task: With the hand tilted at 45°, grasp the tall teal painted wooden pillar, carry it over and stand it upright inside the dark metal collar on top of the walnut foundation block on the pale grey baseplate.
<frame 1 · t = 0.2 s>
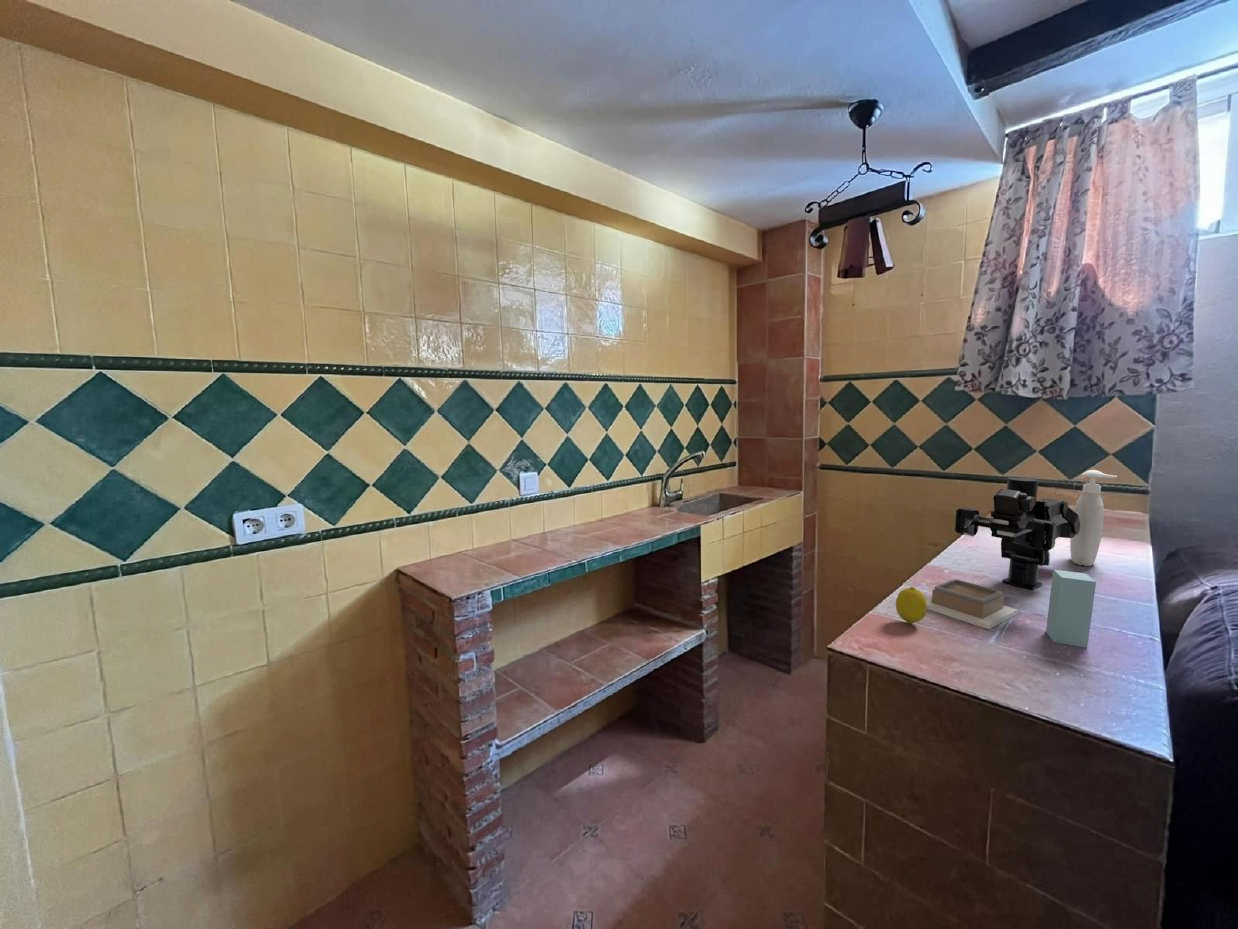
hand: (987, 534, 111), 17 cm above the table, tool horizontal, fingers open, 9 cm apart
build base: (966, 609, 112), on the table
soap bottle: (1085, 563, 145), on the table
pillar: (1065, 639, 98), on the table
lemon: (909, 624, 105), on the table
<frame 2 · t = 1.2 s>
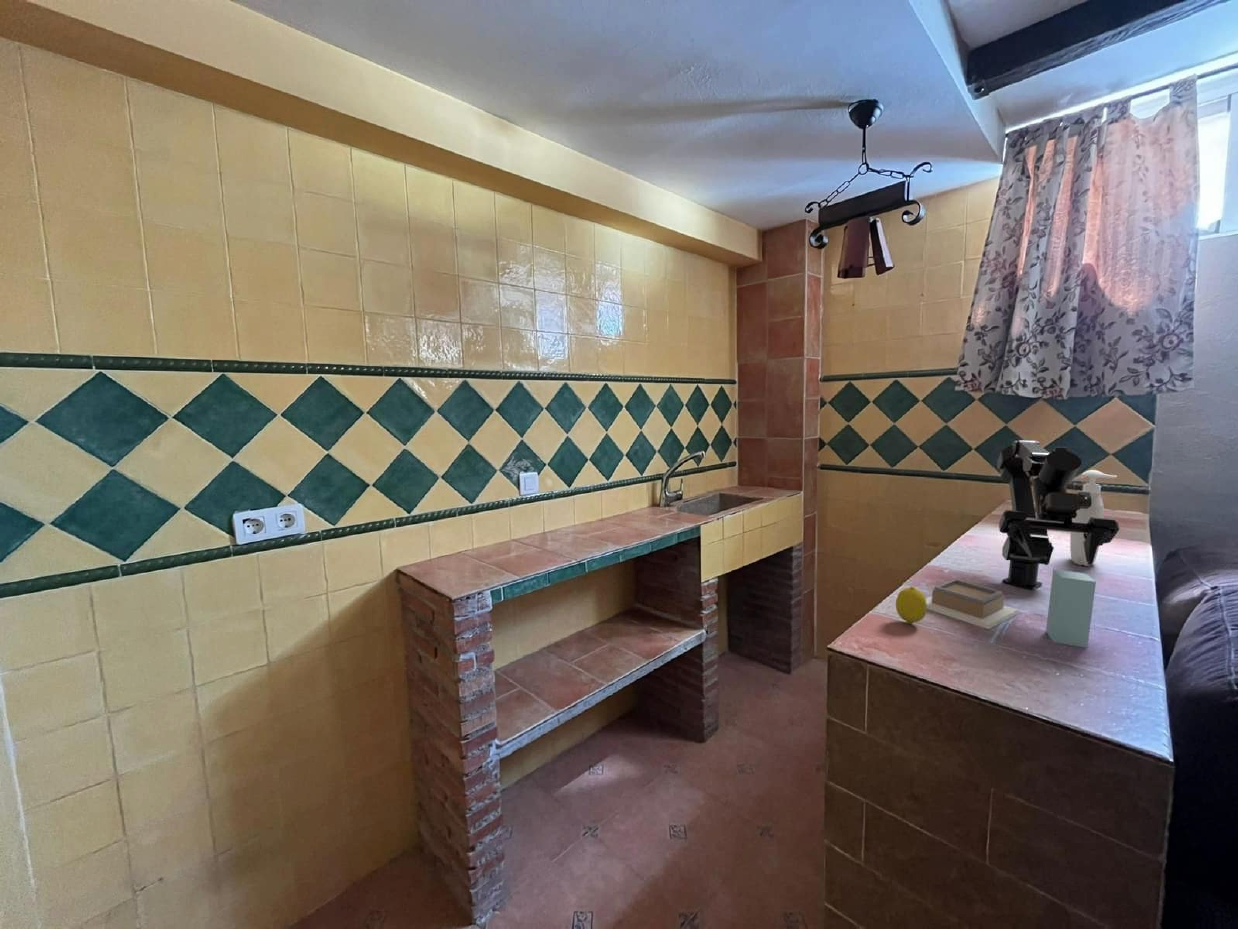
hand: (1061, 560, 103), 14 cm above the table, tool tilted 45°, fingers open, 9 cm apart
nothing on the table moved.
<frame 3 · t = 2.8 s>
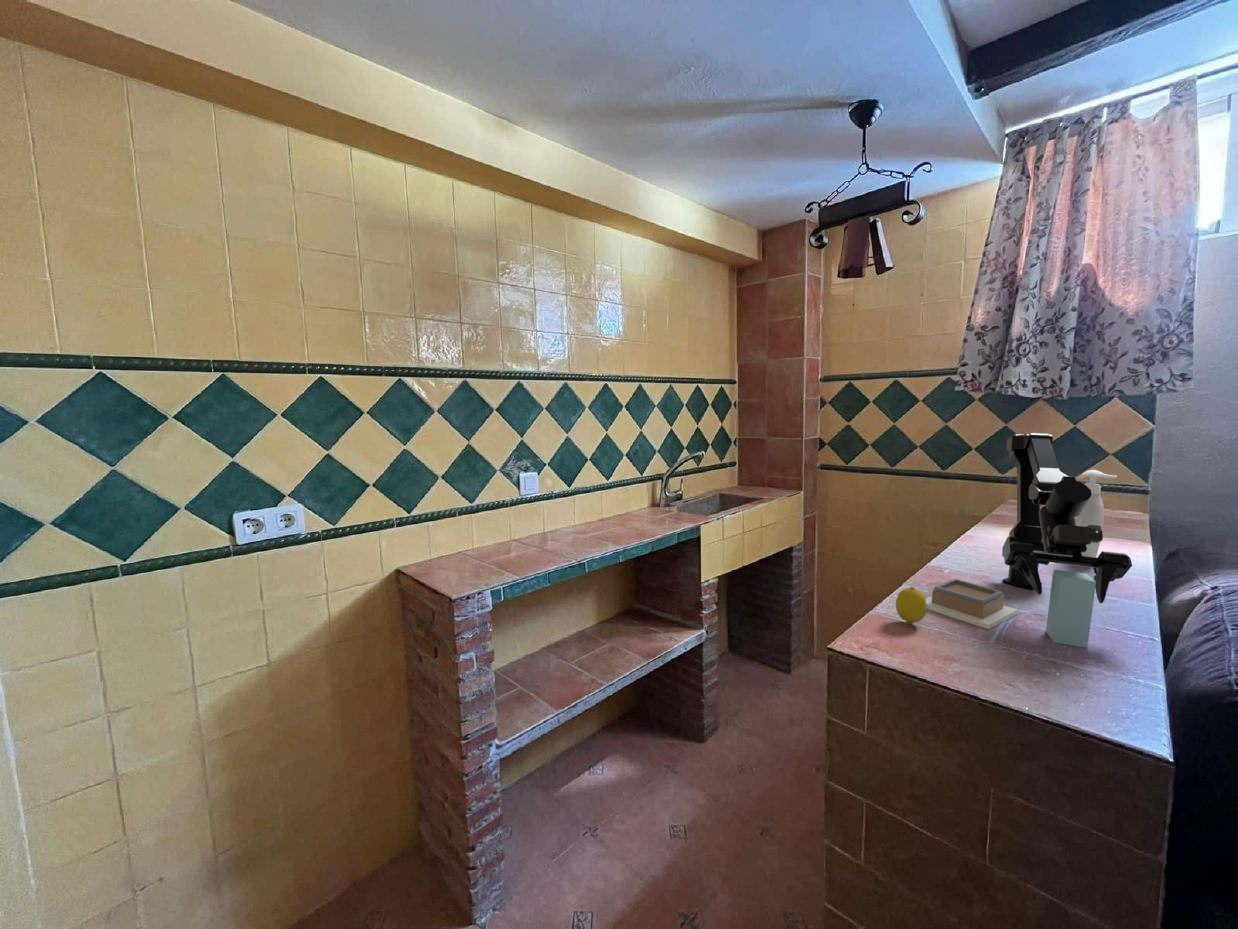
hand: (1070, 598, 97), 8 cm above the table, tool tilted 45°, fingers open, 9 cm apart
nothing on the table moved.
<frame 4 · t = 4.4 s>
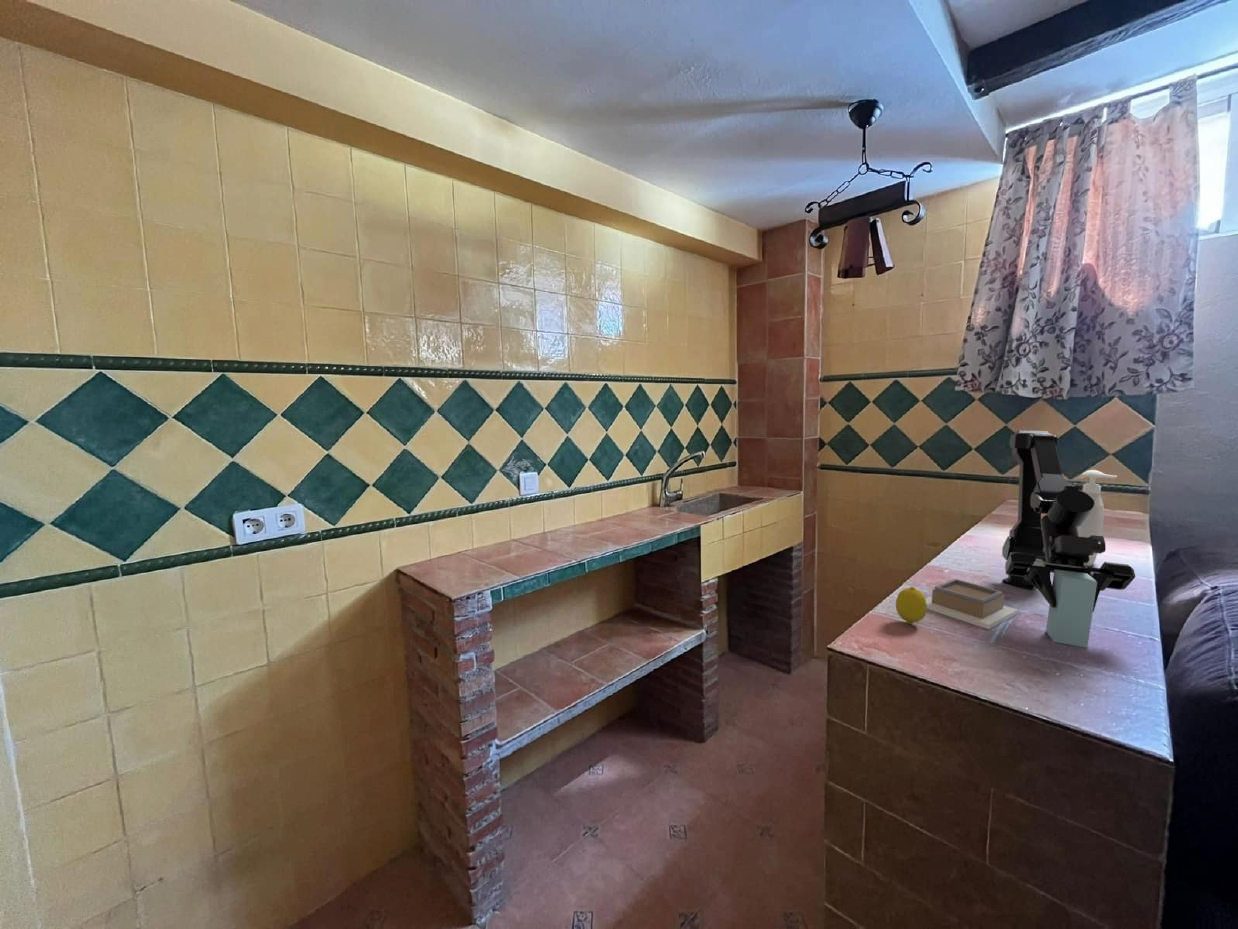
hand: (1072, 609, 96), 7 cm above the table, tool tilted 45°, fingers closed on pillar, 5 cm apart
pillar: (1065, 639, 98), on the table, touching gripper
everything else where it was.
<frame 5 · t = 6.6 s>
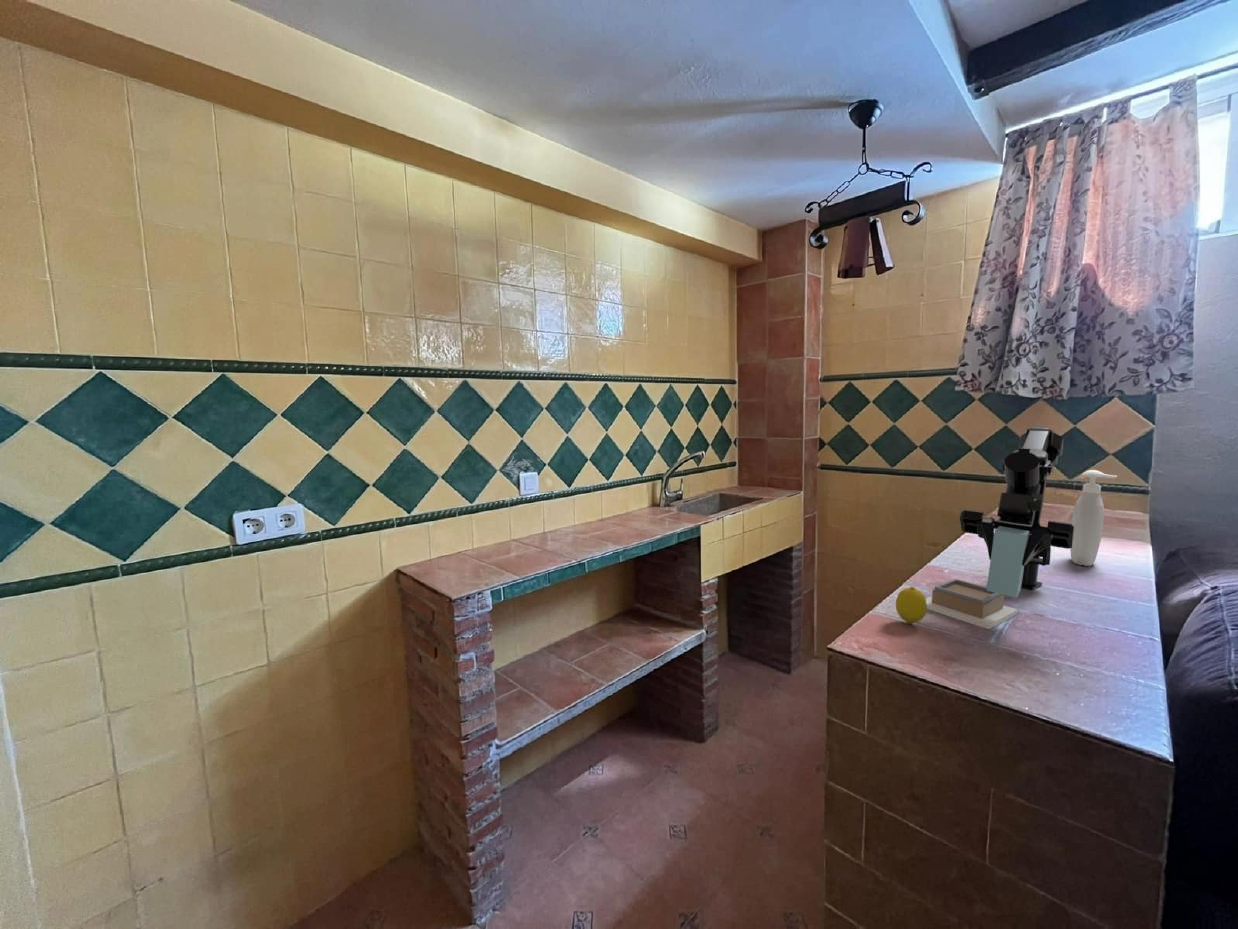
hand: (1006, 561, 103), 13 cm above the table, tool tilted 45°, fingers closed on pillar, 5 cm apart
pillar: (1003, 590, 105), point 7 cm above the table, touching gripper
everything else where it was.
when the fingers open (12 cm above the table, at t = 9.1 s): pillar drops 1 cm, resting on build base.
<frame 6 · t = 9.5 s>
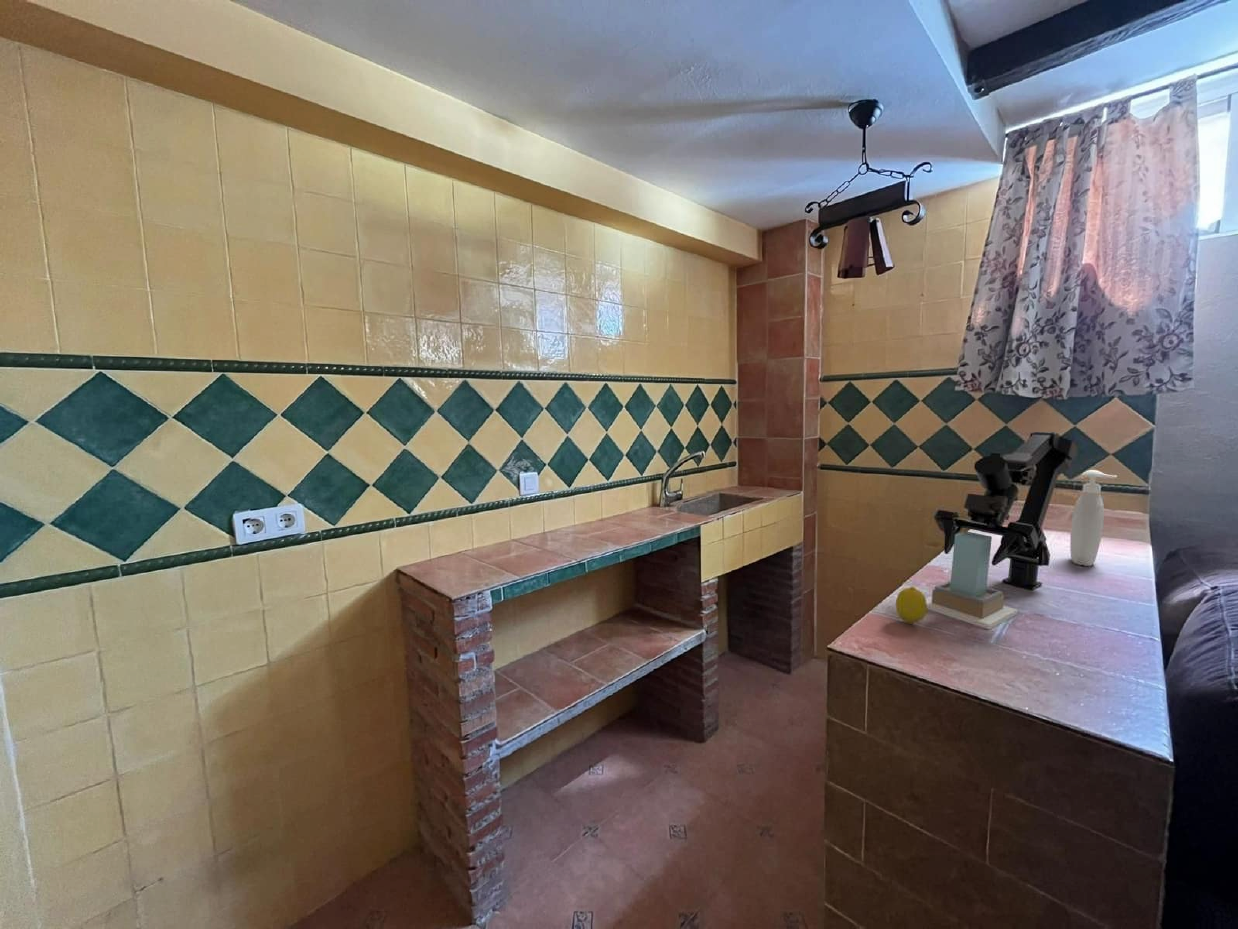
hand: (968, 558, 109), 12 cm above the table, tool tilted 45°, fingers open, 9 cm apart
pillar: (967, 592, 111), point 4 cm above the table, touching build base
everything else where it was.
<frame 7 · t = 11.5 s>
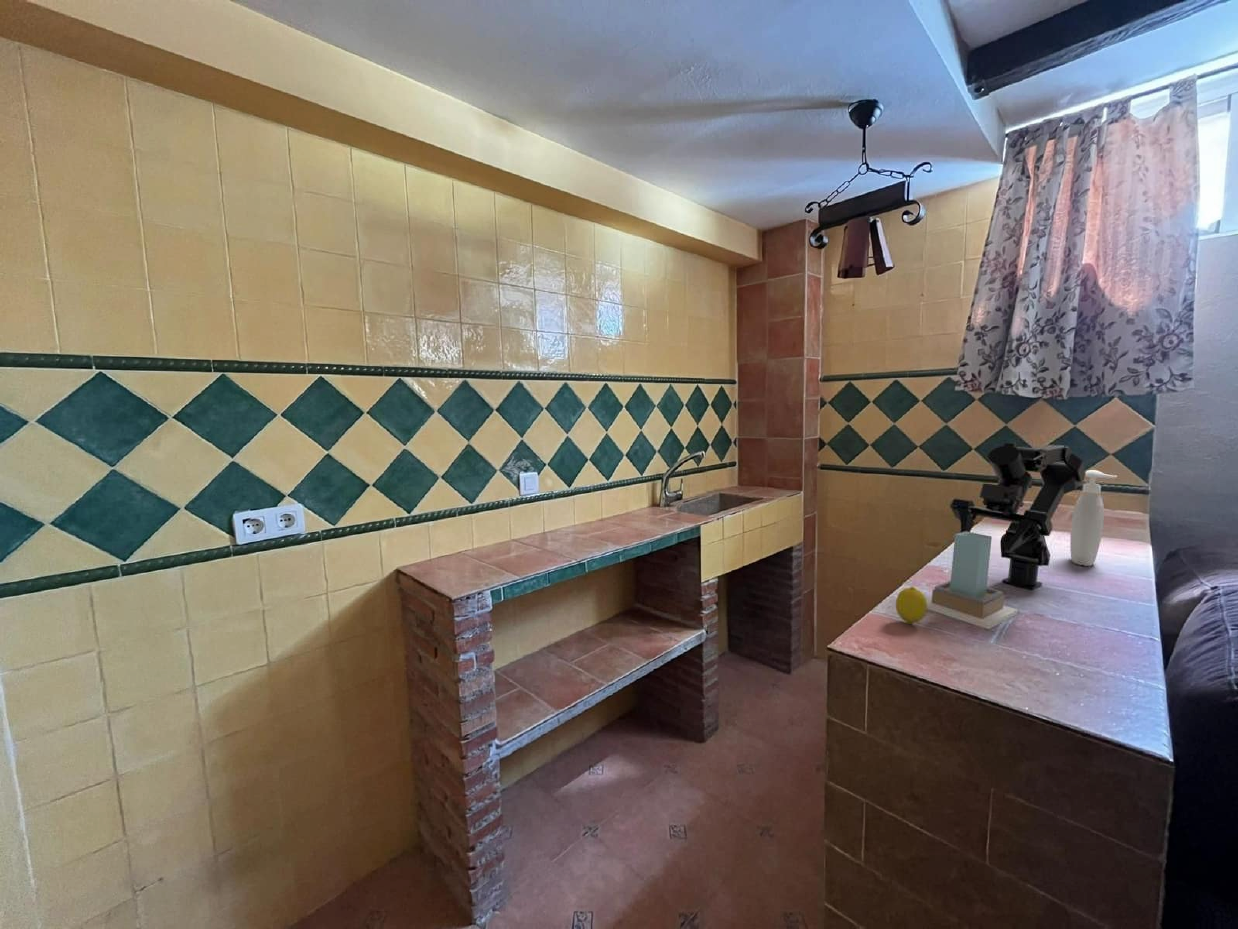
hand: (984, 545, 114), 14 cm above the table, tool tilted 40°, fingers open, 9 cm apart
nothing on the table moved.
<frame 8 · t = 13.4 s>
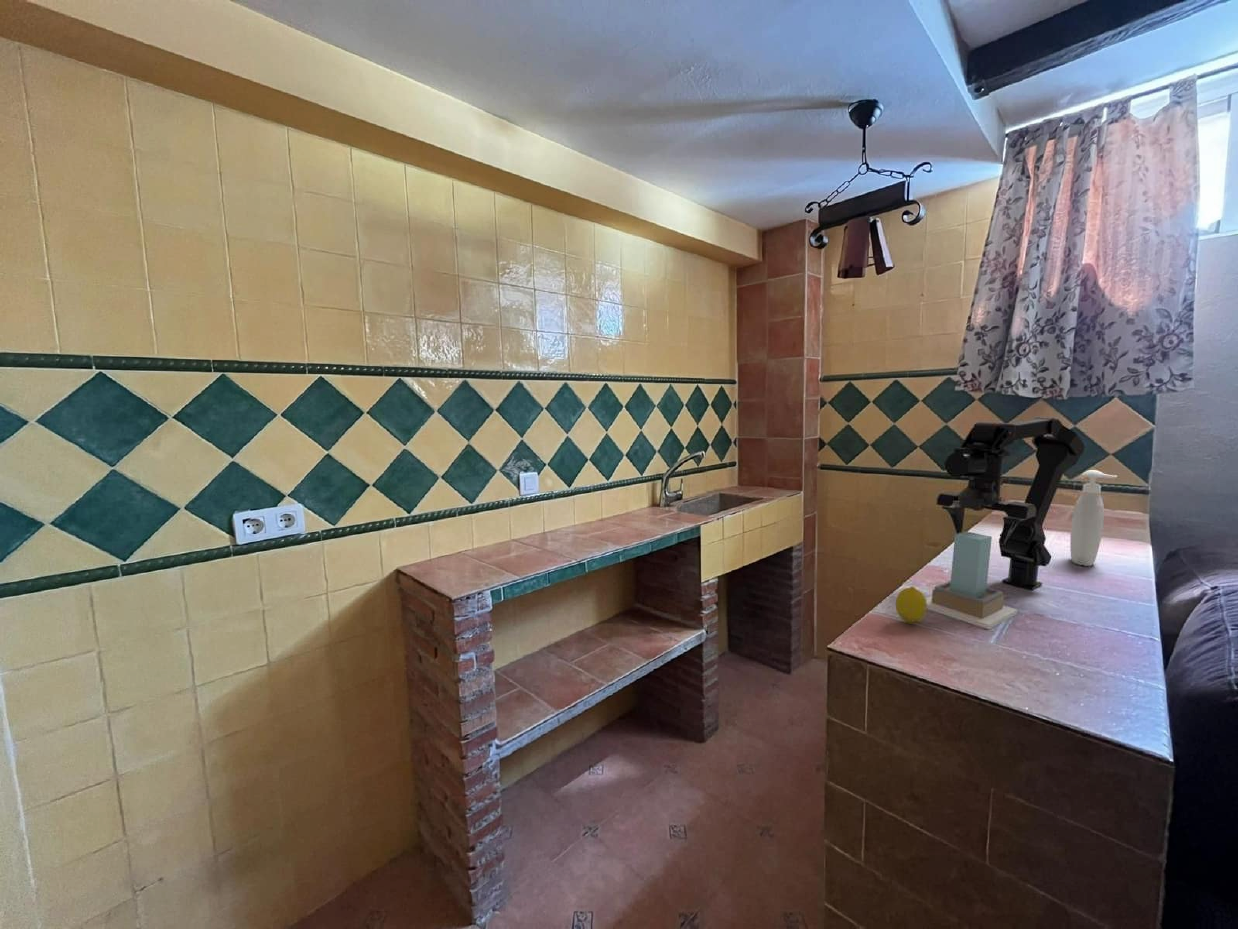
hand: (980, 539, 121), 13 cm above the table, tool pointing down, fingers open, 9 cm apart
nothing on the table moved.
at the end: pillar 0.0 cm off-centre on the build base, point 4.0 cm above the build base's base; pillar tilted 0°; the gripper is holding nothing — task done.
